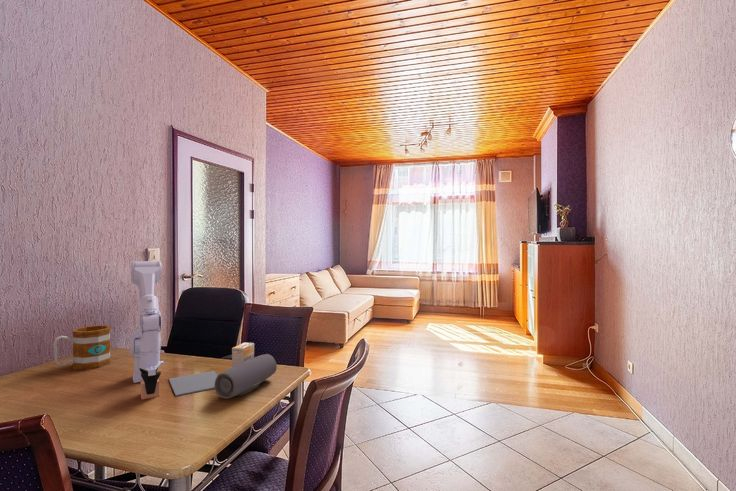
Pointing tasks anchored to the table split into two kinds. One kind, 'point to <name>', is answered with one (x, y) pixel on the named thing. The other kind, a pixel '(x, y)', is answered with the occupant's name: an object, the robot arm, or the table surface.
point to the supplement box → (242, 353)
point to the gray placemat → (193, 383)
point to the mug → (88, 347)
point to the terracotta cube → (145, 396)
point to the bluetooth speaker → (245, 376)
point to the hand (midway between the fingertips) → (149, 390)
